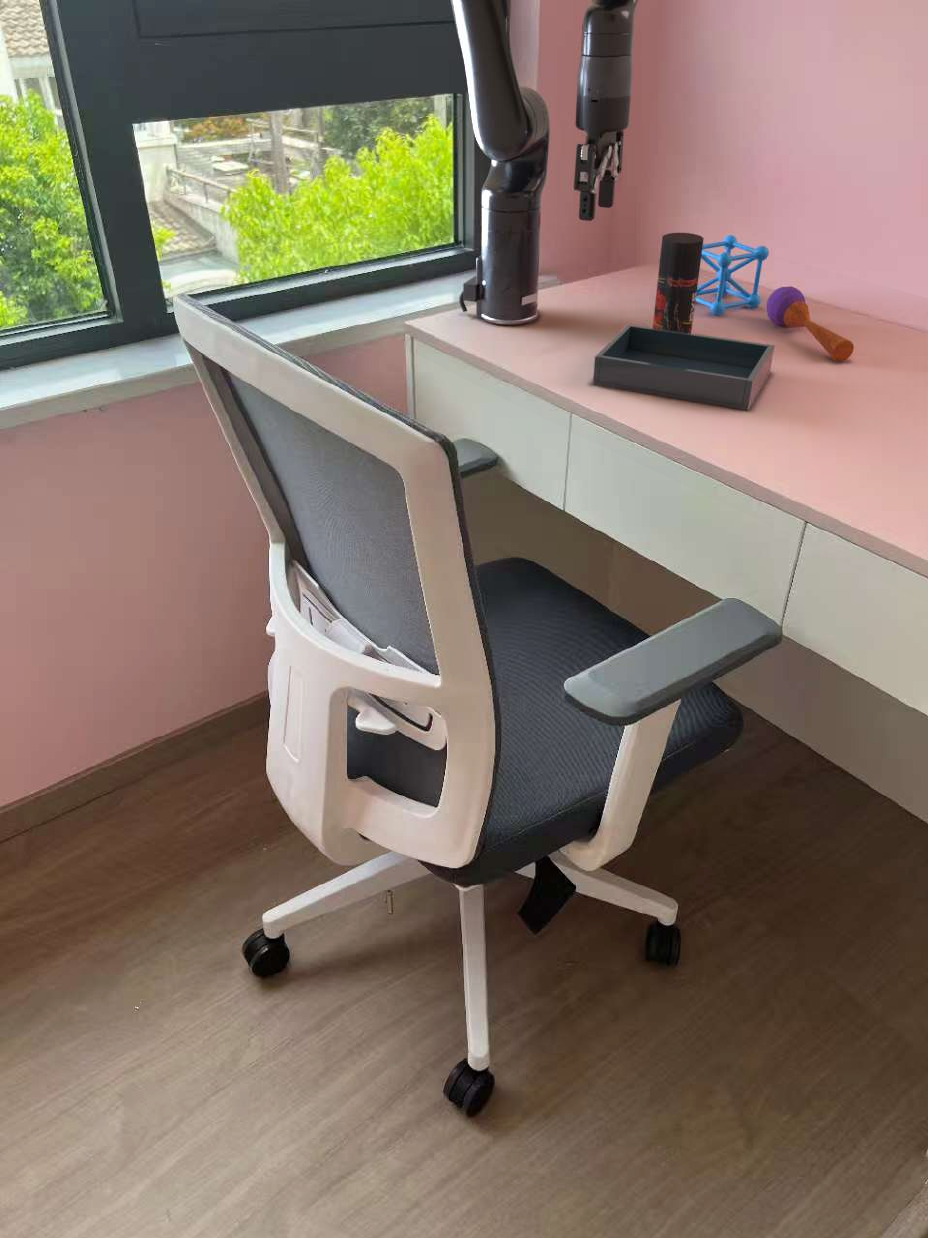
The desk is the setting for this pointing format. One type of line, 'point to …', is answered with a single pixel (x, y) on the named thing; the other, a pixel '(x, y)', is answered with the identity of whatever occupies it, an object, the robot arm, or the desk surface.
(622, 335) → the dark grey tray
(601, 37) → the robot arm
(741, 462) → the desk surface
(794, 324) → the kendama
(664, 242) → the deodorant
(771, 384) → the desk surface
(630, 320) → the desk surface
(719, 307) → the molecular structure
